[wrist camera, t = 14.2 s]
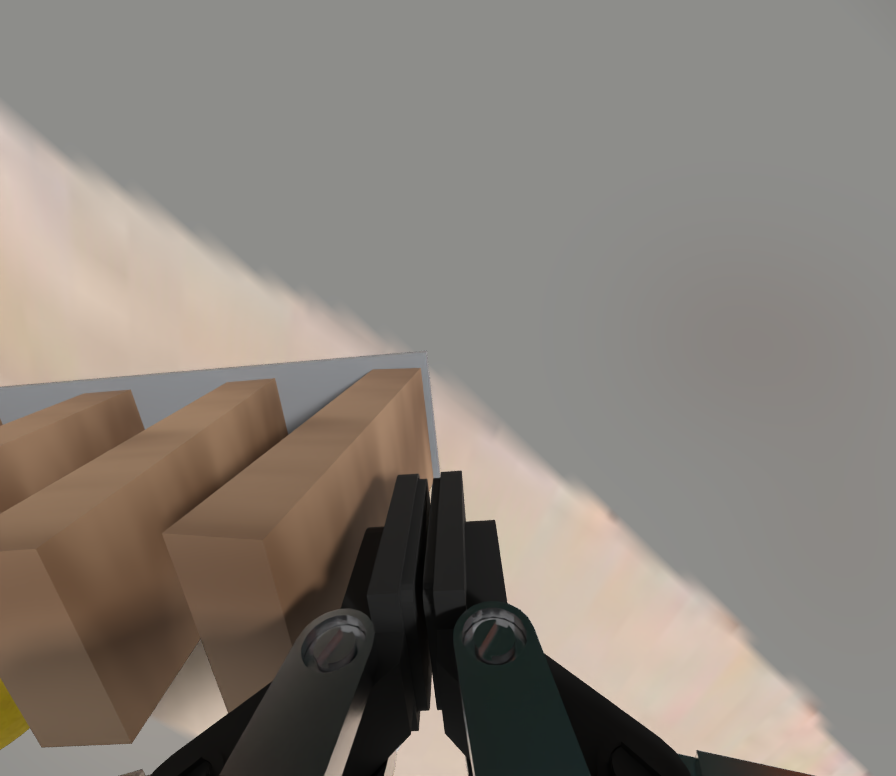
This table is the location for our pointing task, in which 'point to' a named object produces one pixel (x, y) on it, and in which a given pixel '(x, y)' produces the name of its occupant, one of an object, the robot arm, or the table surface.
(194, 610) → the domino
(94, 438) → the domino
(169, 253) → the table surface
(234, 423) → the domino
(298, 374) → the grey flat board
